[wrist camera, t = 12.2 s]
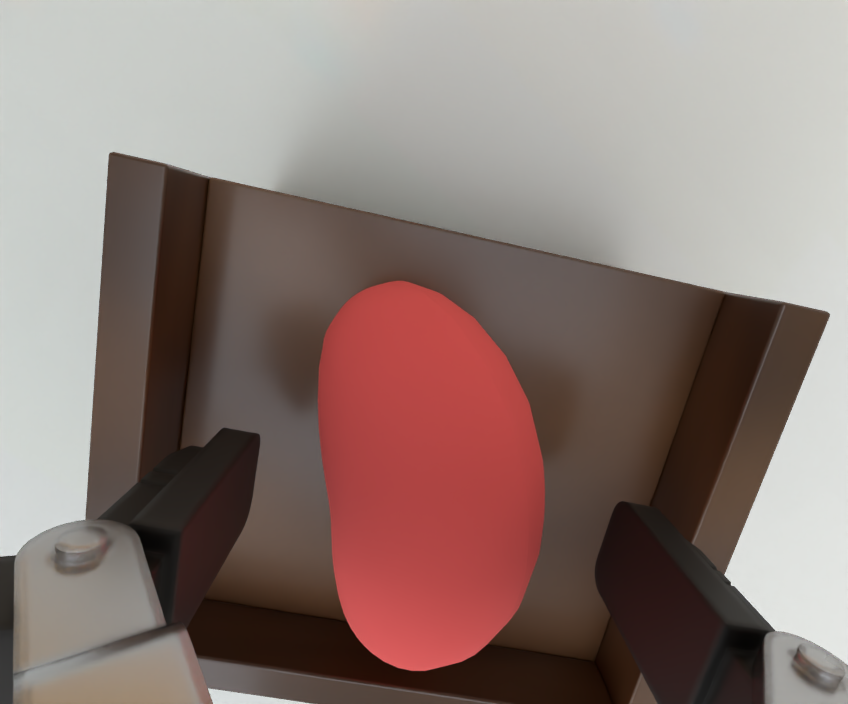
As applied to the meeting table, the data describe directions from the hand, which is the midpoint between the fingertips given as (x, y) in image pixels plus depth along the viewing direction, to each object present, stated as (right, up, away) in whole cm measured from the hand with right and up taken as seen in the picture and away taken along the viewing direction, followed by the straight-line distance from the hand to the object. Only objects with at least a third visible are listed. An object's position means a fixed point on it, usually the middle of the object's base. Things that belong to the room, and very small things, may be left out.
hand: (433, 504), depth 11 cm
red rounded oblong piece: (0, +1, +3) cm, 3 cm away
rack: (0, +2, +12) cm, 12 cm away
